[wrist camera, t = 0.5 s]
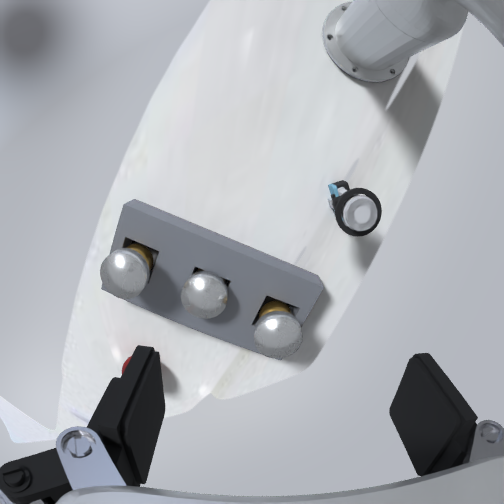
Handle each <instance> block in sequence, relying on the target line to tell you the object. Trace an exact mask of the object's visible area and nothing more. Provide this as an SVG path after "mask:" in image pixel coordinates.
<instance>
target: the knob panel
mask: <svg viewBox="0 0 504 504" xmlns="http://www.w3.org/2000/svg"><path fill="white" fill-rule="evenodd" d="M132 240H134V241H136V242H139V243H141V244H143V245H146V246H148V247H150V248H153V249H155V250H157V251H159V254H158V257H157V260H156V263H155V266H154V269H153V271H152V270H150V276H149V280H148V283H147V284H146V286H145V287H144V289H143V290H142V291H141V293H140V294H139V295H138V296H136V297H134V298H131V299H124V300H126V301H128V302H131V303H133V304H135V305H137V306H140V307H142V308H144V309H146V310H149V311H151V312H153V313H156V314H158V315H160V316H163V317H165V318H168V319H170V320H172V321H175V322H177V323H180V324H182V325H185V326H187V327H190V328H192V329H195V330H197V331H200V332H202V333H205V334H208V335H210V336H213V337H216V338H218V339H221V340H224V341H226V342H229V343H232V344H235V345H237V346H240V347H243V348H246V349H249V350H251V351H254V352H257V353H260V352H259V351H258V349H257V348H256V346H255V342H254V328H255V325H256V323H257V321H258V320H259V314H258V311H259V309H260V307H261V305H262V303H263V301H264V299H265V297H266V295H267V296H270V297H272V298H275V299H278V300H280V301H283V302H285V303H288V304H291V307H290V309H291V313H292V315H293V316H294V317H295V318H296V319H297V320H298V322H299V324H300V328H301V327H302V325H303V323H304V321H305V320H306V318H307V316H308V315H309V313H310V311H311V309H312V308H313V306H314V304H315V302H316V301H317V299H318V297H319V295H320V294H321V292H322V290H323V288H324V286H323V284H322V282H321V280H320V278H319V276H318V275H316V274H313V273H311V272H309V271H306V270H304V269H302V268H299V267H297V266H294V265H292V264H290V263H287V262H285V261H282V260H280V259H278V258H275V257H273V256H271V255H268V254H266V253H263V252H261V251H259V250H256V249H254V248H251V247H249V246H247V245H244V244H242V243H239V242H237V241H235V240H232V239H230V238H227V237H225V236H223V235H220V234H218V233H215V232H213V231H211V230H208V229H206V228H203V227H201V226H199V225H196V224H194V223H191V222H189V221H187V220H184V219H182V218H179V217H177V216H175V215H172V214H170V213H167V212H165V211H162V210H160V209H158V208H155V207H153V206H150V205H148V204H146V203H143V202H141V201H138V200H136V199H133V200H131V201H129V202H127V203H125V204H124V205H123V208H122V212H121V215H120V218H119V222H118V225H117V229H116V232H115V236H114V240H113V243H112V247H111V251H110V254H111V253H113V252H114V251H115V250H117V249H120V248H127V247H128V246H129V245H131V242H132ZM195 267H198V268H200V269H203V270H205V271H210V272H213V273H216V274H217V275H219V276H220V277H222V278H225V279H227V280H228V282H227V284H226V285H227V288H228V298H227V303H226V307H225V309H224V310H223V311H222V312H221V313H220V314H219V315H218V316H216V317H213V318H208V319H204V318H198V317H195V316H193V315H192V314H190V313H189V312H188V311H187V310H186V309H185V308H184V306H183V304H182V301H181V291H182V288H183V286H184V284H185V282H186V280H187V279H188V278H189V276H191V275H192V274H193V272H194V269H195ZM101 289H102V290H105V291H107V292H109V291H108V290H107V289H106V288H105V286H104V284H102V288H101ZM109 293H110V292H109ZM260 354H262V353H260ZM275 359H278V360H282V358H275Z"/></svg>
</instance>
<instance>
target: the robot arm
mask: <svg viewBox="0 0 504 504" xmlns="http://www.w3.org/2000/svg"><path fill="white" fill-rule="evenodd" d="M343 10H344V11H343ZM468 11H469V12H470V13H471V14H472V15H473V16H474V17H475V18H476V19H477V20H478V21H479V22H480V23H482V24H483V25H484V26H485V27H486V28H487V29H488V30H489V31H490V32H491V33H492V34H493V35H494V36H495V37H496V39H497V40H498V41H499V42H500V43H501V44H502V45H503V46H504V0H353V2H347V3H343V4H341V5H339V6H337V7H335V8H334V9H333V10H332V11H331V12H330V13H329V15H328V16H327V18H326V20H325V22H324V25H323V41H324V45H325V48H326V50H327V52H328V54H329V55H330V57H331V58H332V60H333V61H334V62H335V63H336V64H337V65H338V67H340V68H341V69H342V70H343V71H345V72H346V73H348V74H349V75H351V76H353V77H355V78H358V79H360V80H364V81H368V82H382V81H386V80H389V79H392V78H394V77H396V76H397V75H398V74H400V73H401V72H402V71H403V69H404V68H405V67H406V65H407V62H408V60H409V57H410V56H412V55H414V54H416V53H418V52H421V51H423V50H425V49H427V48H429V47H431V46H433V45H436V44H438V43H440V42H442V41H444V40H446V39H448V38H450V37H452V36H454V35H455V34H457V33H458V32H459V31H460V30H461V28H462V27H463V25H464V23H465V21H466V19H467V14H468ZM328 38H330V40H329V39H328ZM352 69H353V70H355V72H353V70H352ZM390 72H391V73H390ZM164 414H165V400H164V392H163V383H162V374H161V365H160V355H159V352H155V350H154V348H153V347H147V346H140V345H138V346H137V347H136V349H135V351H134V353H133V355H132V357H131V359H130V361H129V363H128V364H127V366H126V368H125V370H124V372H123V374H122V376H121V378H117V377H114V378H113V379H112V380H111V381H110V383H109V385H108V387H107V389H106V391H105V393H104V395H103V397H102V398H101V400H100V402H99V404H98V406H97V408H96V410H95V412H94V414H93V416H92V418H91V420H90V422H89V424H88V426H87V428H86V427H78V426H77V427H71V428H69V429H66V430H64V431H63V432H62V433H60V435H59V436H58V438H57V441H56V448H54V449H51V450H47V451H45V452H41V453H38V454H35V455H32V456H29V457H25V458H21V459H18V460H14V461H11V462H8V463H6V464H4V465H3V466H2V467H1V468H0V504H504V428H503V427H502V426H501V425H500V424H498V423H497V422H495V421H491V420H484V421H481V422H480V423H479V424H478V425H477V424H476V422H475V421H476V420H477V418H478V417H477V416H476V414H475V413H474V411H473V410H472V409H471V407H470V406H469V405H468V403H467V402H466V401H465V399H464V398H463V396H462V395H461V394H460V392H459V391H458V390H457V389H456V387H455V386H454V385H453V383H452V382H451V381H450V379H449V378H448V377H447V375H446V374H445V373H444V372H443V370H442V369H441V368H440V367H439V365H438V364H437V363H436V362H435V360H434V359H433V358H432V356H431V355H430V354H428V353H421V354H415V355H414V356H413V357H412V358H411V359H409V362H408V364H407V367H406V370H405V372H404V375H403V377H402V380H401V382H400V385H399V387H398V390H397V392H396V395H395V397H394V399H393V402H392V404H391V407H390V416H391V419H392V421H393V423H394V425H395V427H396V429H397V431H398V433H399V435H400V438H401V440H402V442H403V444H404V446H405V448H406V451H407V453H408V455H409V457H410V459H411V461H412V464H413V466H414V468H415V470H416V473H417V474H418V475H419V476H421V477H417V478H413V479H409V480H405V481H400V482H396V483H391V484H386V485H381V486H376V487H369V488H363V489H357V490H350V491H342V492H334V493H325V494H313V495H298V496H270V497H269V496H266V497H265V496H264V497H263V496H261V497H260V496H227V495H211V494H198V493H187V492H179V491H171V490H163V489H154V488H146V487H140V483H141V484H145V483H146V481H147V477H148V473H149V469H150V465H151V462H152V458H153V454H154V450H155V447H156V443H157V439H158V435H159V432H160V429H161V425H162V421H163V418H164Z"/></svg>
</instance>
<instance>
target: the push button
mask: <svg viewBox="0 0 504 504" xmlns="http://www.w3.org/2000/svg"><path fill="white" fill-rule="evenodd" d="M328 186H329V189H330V192H331V198H332V200H331V201H330V200H329V199H328V202H329V205H330V207H331V208H332V209H333V208H334V209H335V216H336V220H337V223H338V225H339V226H340V228H341V229H342V230H343V231H344V232H346V233H347V234H349V235H352V236H364V235H367V234H369V233H370V232H372V231H373V230H374V229H375V228H376V227H377V225H378V223H379V221H380V218H381V213H382V210H381V204H380V201H379V199H378V198H377V196H376V195H375V194H374V193H372V192H371V191H369V190H367V189H364V188H354V189H351V190H350V189H349V185H348V183H347V182H346V181H343V180H342V181H339V182H336V183H333V184H330V185H328ZM358 194H365V195H366V196H362V195H358Z"/></svg>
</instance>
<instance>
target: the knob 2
mask: <svg viewBox="0 0 504 504" xmlns="http://www.w3.org/2000/svg"><path fill="white" fill-rule="evenodd" d="M254 342H255V346H256V348H257V349H258V351H259V352H260V353H262V354H263V355H265V356H267V357H271V358H283V357H287V356H289V355H291V354H293V353H294V352H295V351H296V350H297V349H298V348H299V347H300V345H301V342H302V332H301V328H300V324H299V322H298V320H297V319H296V318H295V317H294V316H293V315H292V313H291V309H290V308H289V306H288V305H287V304H285V303H284V302H281V301H271V302H268V303H266V304H265V305H264V306H263V307H262V308H261V310H260V313H259V320H258V321H257V323H256V325H255V328H254Z"/></svg>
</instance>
